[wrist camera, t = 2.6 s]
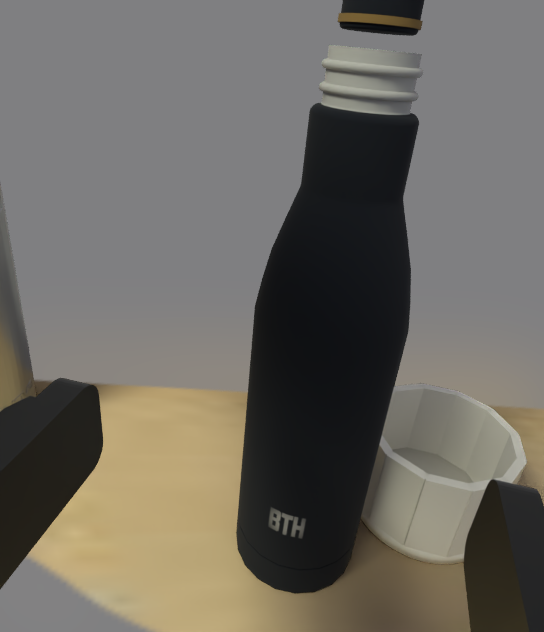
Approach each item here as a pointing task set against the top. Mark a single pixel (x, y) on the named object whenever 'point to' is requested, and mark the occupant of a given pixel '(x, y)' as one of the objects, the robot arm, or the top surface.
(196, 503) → the top surface
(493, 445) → the ceramic cup
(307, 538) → the black insulated water bottle
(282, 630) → the top surface
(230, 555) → the top surface
